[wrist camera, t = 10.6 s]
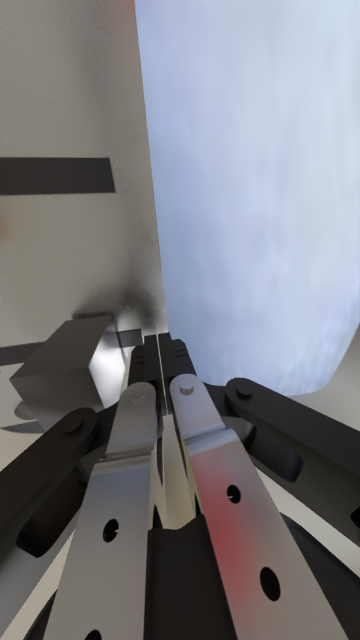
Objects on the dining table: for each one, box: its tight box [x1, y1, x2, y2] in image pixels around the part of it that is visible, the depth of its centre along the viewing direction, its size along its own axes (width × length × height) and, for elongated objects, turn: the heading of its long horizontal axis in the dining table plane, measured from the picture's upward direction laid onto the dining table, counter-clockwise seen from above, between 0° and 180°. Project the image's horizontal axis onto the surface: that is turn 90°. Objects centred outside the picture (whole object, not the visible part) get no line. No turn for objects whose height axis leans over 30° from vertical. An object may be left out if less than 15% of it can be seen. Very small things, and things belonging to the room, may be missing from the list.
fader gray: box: [9, 315, 125, 432], centre depth 9 cm, size 4×2×4 cm, turn 3°
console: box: [0, 0, 168, 427], centre depth 10 cm, size 20×13×3 cm, turn 3°
